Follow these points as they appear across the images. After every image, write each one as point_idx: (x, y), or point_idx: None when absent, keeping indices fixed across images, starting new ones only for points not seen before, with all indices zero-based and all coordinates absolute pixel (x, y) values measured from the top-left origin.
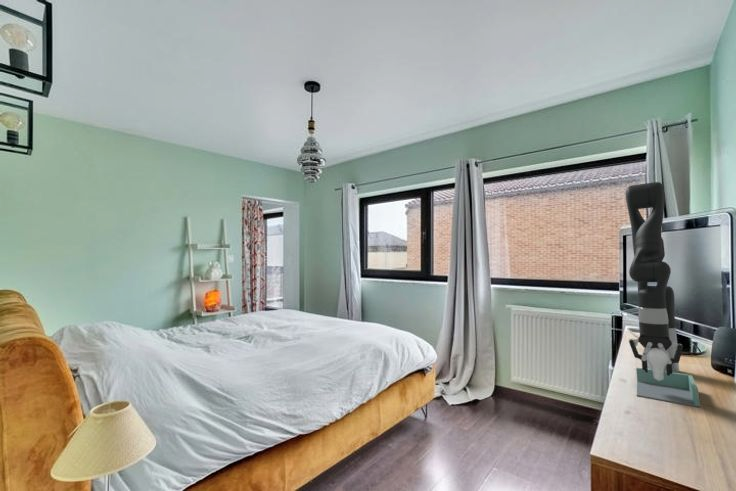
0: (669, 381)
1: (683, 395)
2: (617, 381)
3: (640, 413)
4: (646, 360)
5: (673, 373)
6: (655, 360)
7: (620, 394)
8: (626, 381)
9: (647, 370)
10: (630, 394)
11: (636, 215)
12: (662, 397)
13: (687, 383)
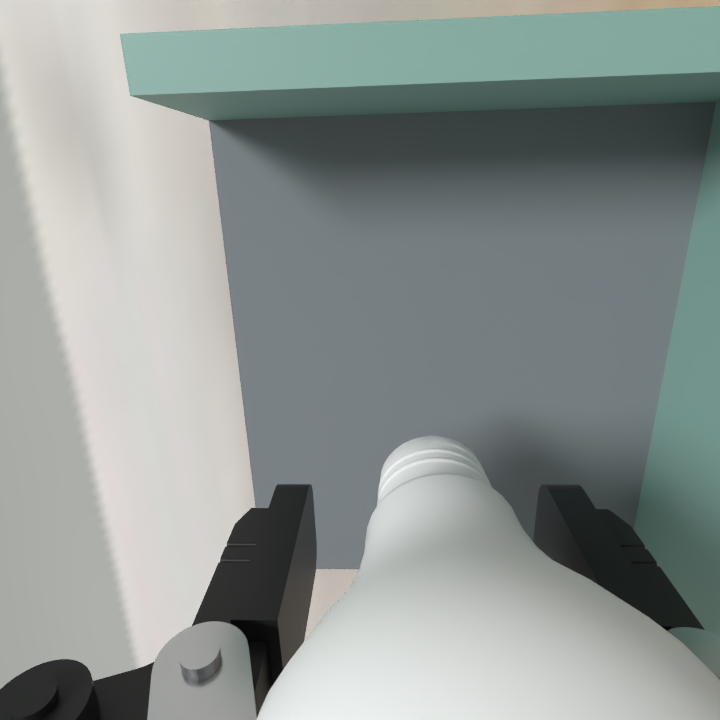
0: (550, 98)
1: (600, 380)
2: (45, 223)
3: None
4: (272, 654)
5: (667, 74)
6: None
7: (165, 581)
8: (114, 157)
9: (310, 584)
10: (222, 545)
11: None
12: None
13: None
